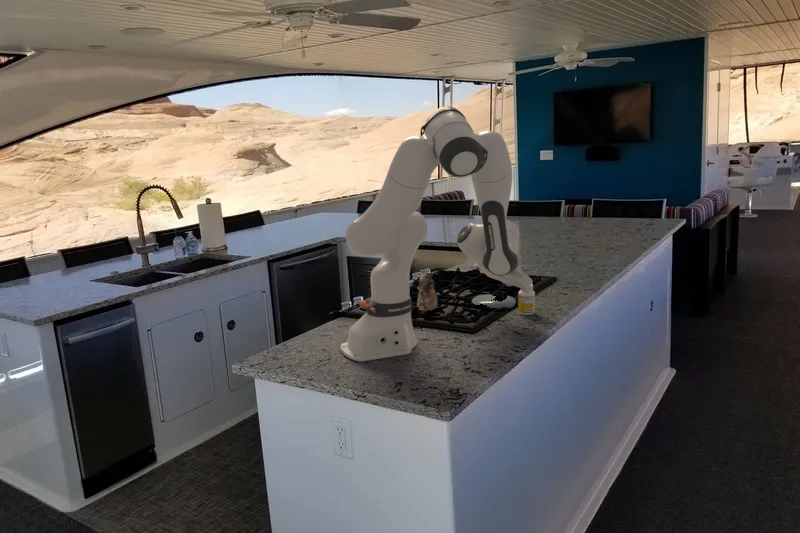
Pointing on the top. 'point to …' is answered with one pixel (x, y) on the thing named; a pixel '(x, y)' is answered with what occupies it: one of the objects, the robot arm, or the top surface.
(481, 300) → the dish
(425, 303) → the figurine
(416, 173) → the robot arm
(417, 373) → the top surface
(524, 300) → the supplement bottle
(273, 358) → the top surface
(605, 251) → the top surface
